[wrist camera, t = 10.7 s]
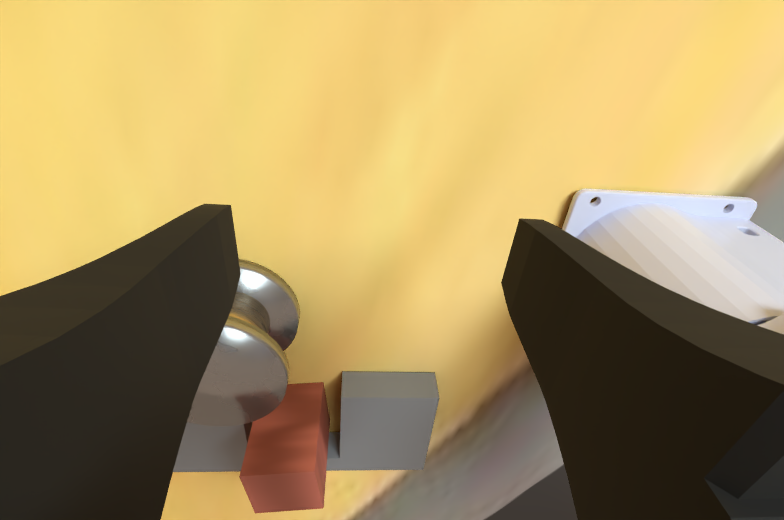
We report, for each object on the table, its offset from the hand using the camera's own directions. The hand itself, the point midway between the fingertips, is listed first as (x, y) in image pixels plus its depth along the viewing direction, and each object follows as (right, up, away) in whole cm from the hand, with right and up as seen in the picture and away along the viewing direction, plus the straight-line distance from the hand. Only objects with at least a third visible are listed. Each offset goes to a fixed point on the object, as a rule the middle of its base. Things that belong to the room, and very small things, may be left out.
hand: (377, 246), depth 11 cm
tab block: (-6, -10, +18) cm, 21 cm away
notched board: (-6, -11, +18) cm, 22 cm away
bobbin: (-8, -3, +13) cm, 16 cm away
